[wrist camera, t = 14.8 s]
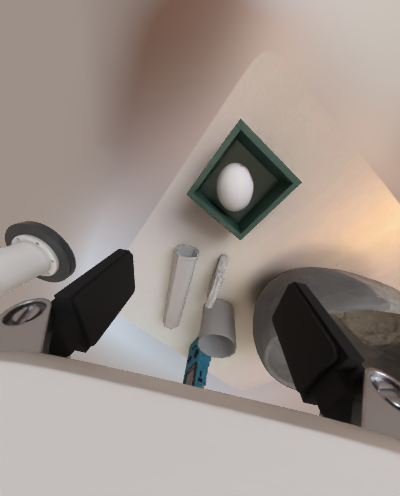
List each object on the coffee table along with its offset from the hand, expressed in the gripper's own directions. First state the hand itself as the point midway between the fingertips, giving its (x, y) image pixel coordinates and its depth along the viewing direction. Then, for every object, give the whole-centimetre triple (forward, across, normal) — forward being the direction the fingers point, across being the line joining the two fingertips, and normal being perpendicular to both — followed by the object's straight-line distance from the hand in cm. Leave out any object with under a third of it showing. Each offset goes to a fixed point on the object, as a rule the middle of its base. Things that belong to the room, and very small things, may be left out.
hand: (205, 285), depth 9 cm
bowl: (+24, -23, +16) cm, 37 cm away
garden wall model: (+24, -3, +16) cm, 29 cm away
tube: (+24, +6, +22) cm, 33 cm away
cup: (+24, -6, +27) cm, 37 cm away
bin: (+24, -3, -5) cm, 24 cm away
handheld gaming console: (+24, -3, +43) cm, 49 cm away
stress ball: (+23, -3, -5) cm, 24 cm away
